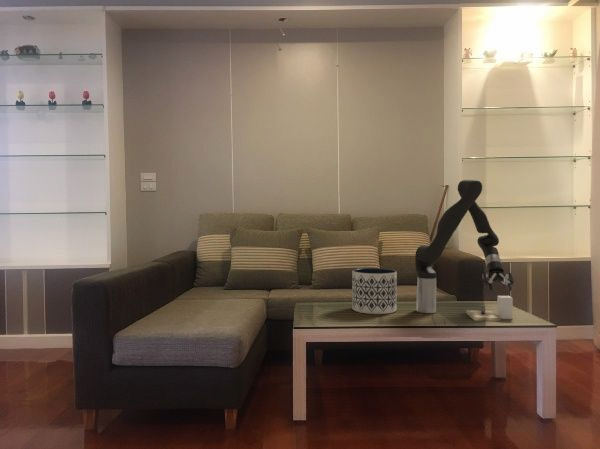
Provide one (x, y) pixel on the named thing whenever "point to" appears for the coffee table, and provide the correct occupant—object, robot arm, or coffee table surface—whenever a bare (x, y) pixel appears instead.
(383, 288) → the planter
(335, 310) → the coffee table surface
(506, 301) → the block
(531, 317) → the coffee table surface
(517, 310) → the coffee table surface
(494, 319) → the stub plate
